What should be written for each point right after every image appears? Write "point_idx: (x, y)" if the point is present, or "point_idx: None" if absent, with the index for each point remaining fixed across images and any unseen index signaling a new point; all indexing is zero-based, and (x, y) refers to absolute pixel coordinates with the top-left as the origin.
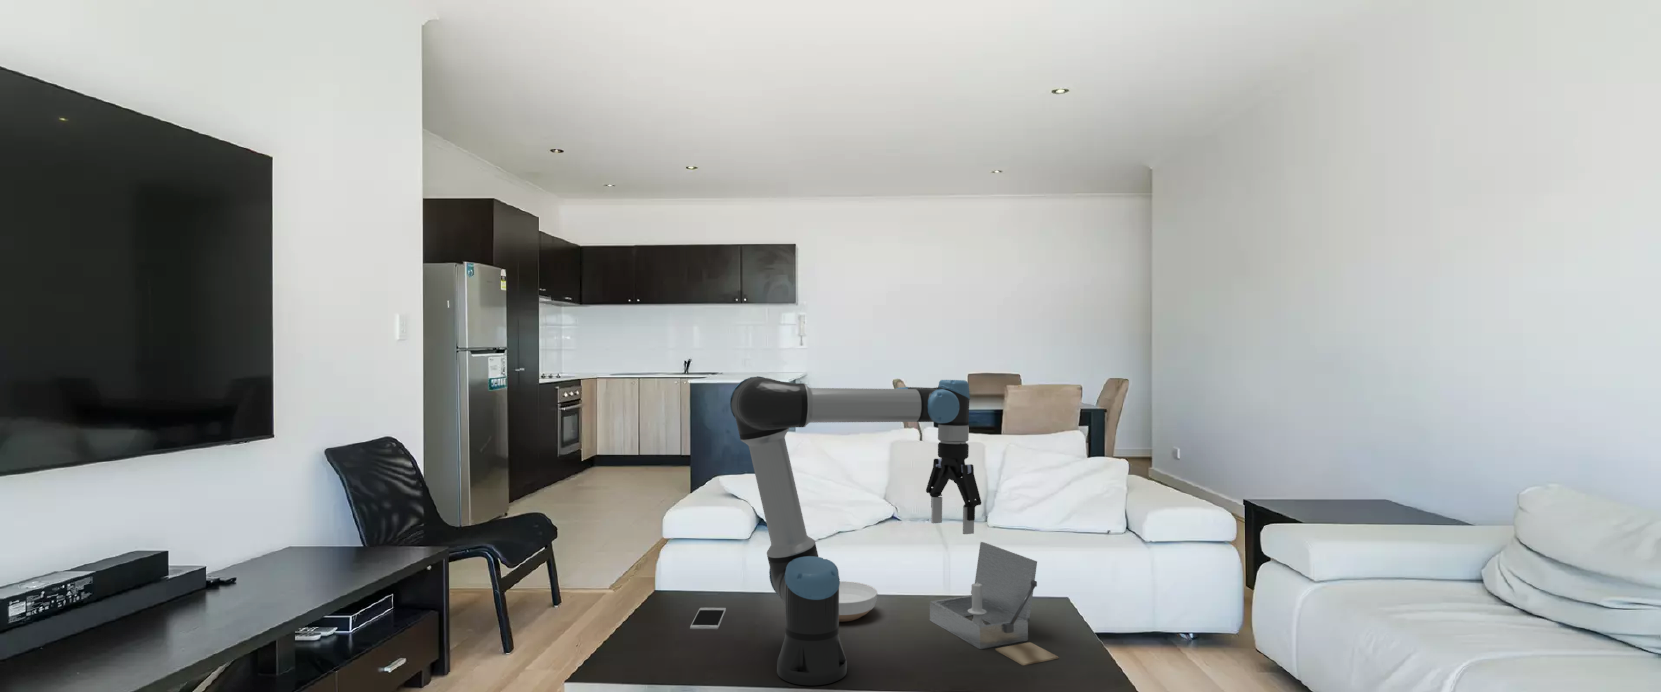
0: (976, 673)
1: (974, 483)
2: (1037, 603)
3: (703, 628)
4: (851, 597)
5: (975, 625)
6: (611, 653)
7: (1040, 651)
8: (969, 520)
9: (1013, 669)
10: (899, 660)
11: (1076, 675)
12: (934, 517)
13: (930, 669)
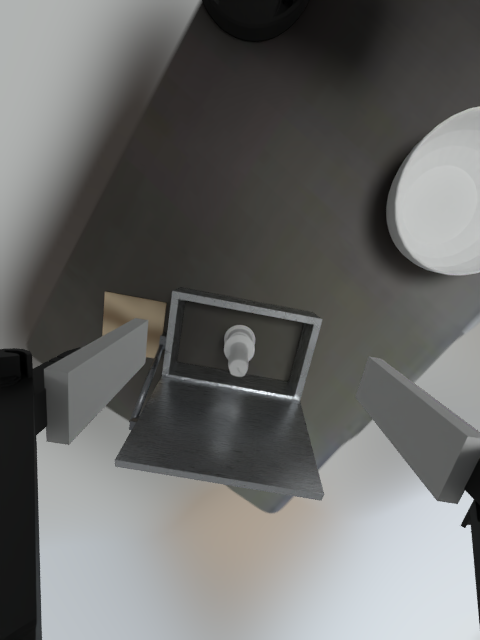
0: (115, 215)
1: None
2: None
3: None
4: (469, 253)
5: (184, 293)
6: None
7: None
8: (79, 348)
9: (102, 270)
10: (212, 148)
11: (50, 322)
12: (379, 374)
13: (159, 166)
